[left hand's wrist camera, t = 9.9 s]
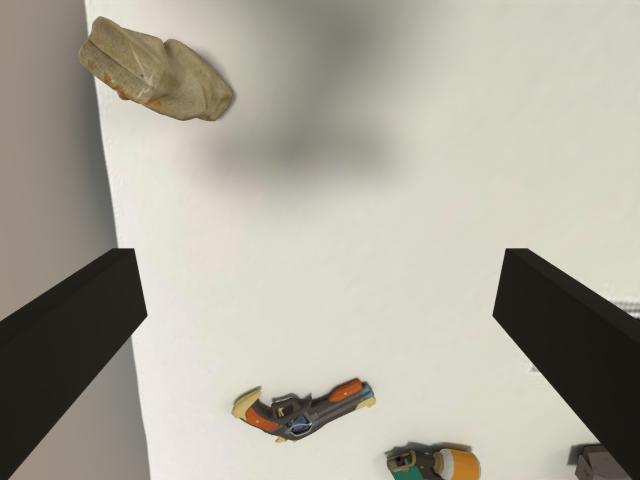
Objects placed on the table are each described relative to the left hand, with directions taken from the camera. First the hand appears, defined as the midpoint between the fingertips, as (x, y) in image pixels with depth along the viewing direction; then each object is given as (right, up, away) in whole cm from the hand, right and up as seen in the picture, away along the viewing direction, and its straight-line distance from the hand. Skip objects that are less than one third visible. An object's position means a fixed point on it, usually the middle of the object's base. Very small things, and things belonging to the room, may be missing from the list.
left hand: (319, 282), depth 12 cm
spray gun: (+18, -37, +44) cm, 60 cm away
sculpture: (-12, +18, +24) cm, 32 cm away
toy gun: (-2, -21, +38) cm, 44 cm away
